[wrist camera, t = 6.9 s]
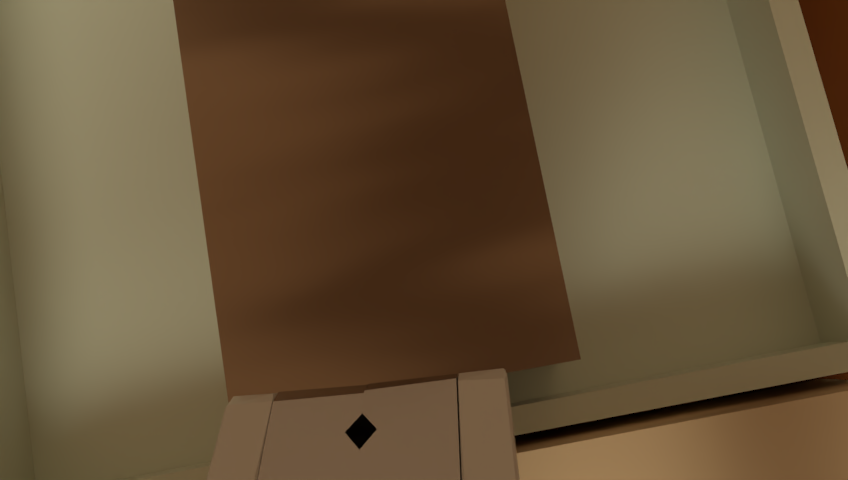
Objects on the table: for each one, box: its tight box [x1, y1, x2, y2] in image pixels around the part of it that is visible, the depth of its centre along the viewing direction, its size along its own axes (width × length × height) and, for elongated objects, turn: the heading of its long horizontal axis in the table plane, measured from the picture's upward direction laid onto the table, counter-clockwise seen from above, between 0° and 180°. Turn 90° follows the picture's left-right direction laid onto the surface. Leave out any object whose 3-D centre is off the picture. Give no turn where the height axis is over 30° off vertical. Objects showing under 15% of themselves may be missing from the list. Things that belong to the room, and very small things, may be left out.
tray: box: [0, 0, 848, 480], centre depth 17 cm, size 17×16×2 cm
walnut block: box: [173, 0, 581, 403], centre depth 15 cm, size 5×5×12 cm
